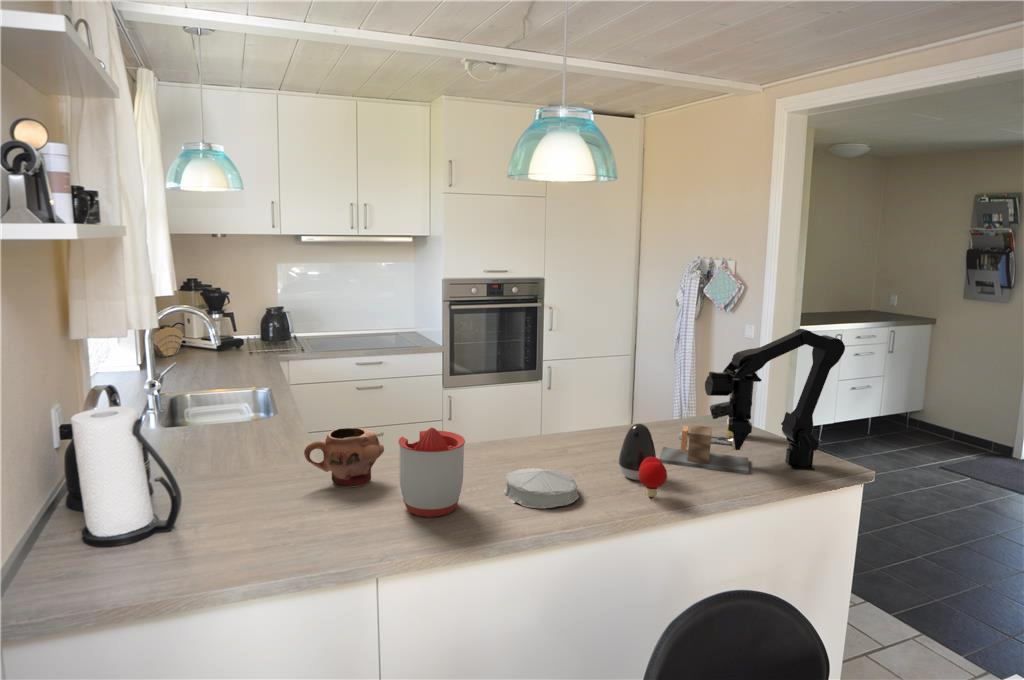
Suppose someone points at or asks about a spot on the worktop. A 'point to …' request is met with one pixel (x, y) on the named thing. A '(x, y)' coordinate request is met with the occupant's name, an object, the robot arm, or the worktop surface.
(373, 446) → the brown sculpted mug
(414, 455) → the citrus juicer
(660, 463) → the light bulb
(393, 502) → the worktop surface
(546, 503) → the food container
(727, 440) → the shaft
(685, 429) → the spacer collar
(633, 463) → the black rounded cone
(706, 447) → the bearing block
